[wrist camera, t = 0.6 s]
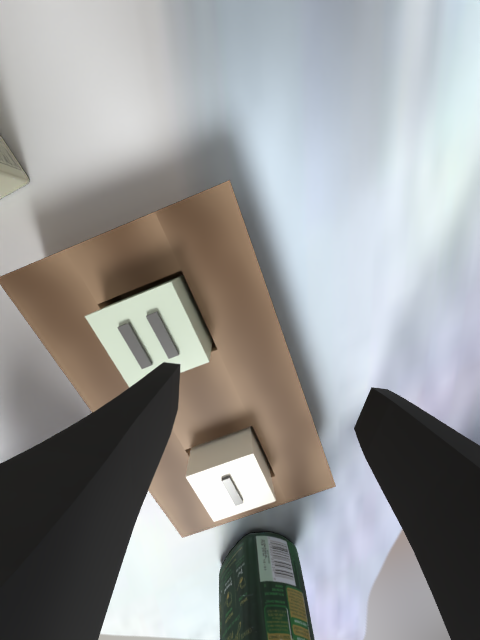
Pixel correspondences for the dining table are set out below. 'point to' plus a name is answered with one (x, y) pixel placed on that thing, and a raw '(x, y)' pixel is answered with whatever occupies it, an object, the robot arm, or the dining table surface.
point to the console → (197, 383)
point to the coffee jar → (263, 591)
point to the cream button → (231, 474)
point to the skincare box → (10, 172)
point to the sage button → (153, 330)
